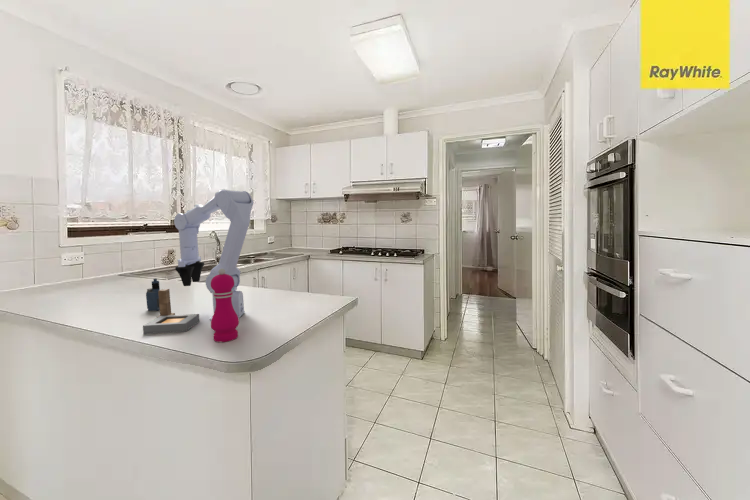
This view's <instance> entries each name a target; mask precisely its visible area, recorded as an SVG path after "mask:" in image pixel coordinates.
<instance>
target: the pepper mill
mask: <svg viewBox="0 0 750 500" xmlns="http://www.w3.org/2000/svg"><path fill="white" fill-rule="evenodd" d="M218 273H219V275H216V276H215V277H213V278H212V280H211V288H212V289H213V290H214V291H215V292H214V293H213V294H214V296H213V295H212V298H213V297H214V298H215V300H216V308H215V312H214V311H213V315H212V316H213V317H212V316H211V317H212V320H210V327H211V328H210V329H211V330H213V331H214V333H213V340H214V342H216V343H225V342H227V343H228V342H230V341H233V340H236V339H237V338H238V336H239V332H238V329H237V328H238V326H239V324H240V321H239V318H238V316H237V314H236V312H235V310H234V308H233V306H232V301H231V298H232V296H233V293H232V292H233V291H232V290H231V289H232V288H233V286H234V279H233V277H232V276H230V275H228V274H225V270H224V269H220V270H219V271H218Z"/></svg>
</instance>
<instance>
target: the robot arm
mask: <svg viewBox="0 0 750 500" xmlns="http://www.w3.org/2000/svg"><path fill="white" fill-rule="evenodd" d="M253 205H254V200H253V198H252V196H251V194H250V192H248V191H246V190H230V189H225V188H223V189H220V190H218V191H217V192H215V194H214V196H213V197H212V198H211V199H210V200H207V202H206V203H205V204H199V203H197V204H195V205H193V206H194V207H193V208H191V209H189V210H186V212H185V213H180V212H179V213H177V214H175V216H174V218H173V219H174V220H173V223H174V226H175V228H176V229H177V230H178V238H179V249H180V258H178V259H177V266H175V268H174V269H175V271H176V272H177V274H178V275H179V277H180V279H181V282H182V285H183V286H184V287H190V286H191V285H192V283H198V282H200V279H201V275H202V270H203V268H204V265H205V262H204V261H202V257H201V256H199V255H200V254H199V242H198V241H199V240H198V234H199V229H200V226H201V224H202V223H204V222H205V221H208V220H209V219H210V218H211V215H212V214H213V213H215V212H217V211H218V210H221V212H222V213H223V215H224V217H225V218H226V219H229V221H230V223H229V227H228V231H227V234H226V237H225V241H224V245H223V248H222V250H221V251H222V252H221V255H220V258H219V262H218V264H217V265H215V266H214V267H213V268H212V269H210V272H209V274H208V276H206V279H205V287H206V289H207V290H208V292H209V293H210V294H211V295H212V307H213V313H214V312H215V308H216V300H215V298H214V297H213V296H214V294H213V293H214V292H215V291H214V290H213V289H212V288H211V280H212V278H213V277H215V276H216V275H219V273H218V271H219V270H220V269H224V270H225V274H228V275H230V276H232V277H233V279H234V286H233V288H232V289H231V290H232V291H233V292H232V293H233V296H232V298H231V301H232V306H233V308H234V310H235V312H236V314H237V316H238V319H239V318H241V316H243V314H244V313H245V306H244V304H245V303H244V294H243V293H244V292H243V291H241V290H238V287H239V286H240V283H241V279H240V278H241V270H240V269H239V268H238V267H237V265H238V262H239V258H240V255H241V253H242V249H243V245H244V243H245V239H246V236H247V232H248V229H249V226H250V223H251V212H252V209H253ZM212 317H213V315H212V316H210V317H209V320H210V321H211V320H212Z"/></svg>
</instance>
